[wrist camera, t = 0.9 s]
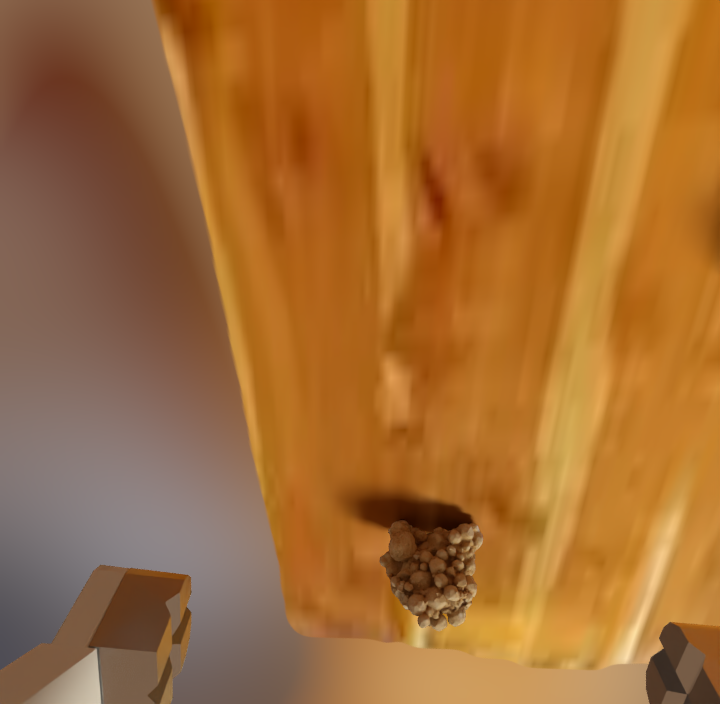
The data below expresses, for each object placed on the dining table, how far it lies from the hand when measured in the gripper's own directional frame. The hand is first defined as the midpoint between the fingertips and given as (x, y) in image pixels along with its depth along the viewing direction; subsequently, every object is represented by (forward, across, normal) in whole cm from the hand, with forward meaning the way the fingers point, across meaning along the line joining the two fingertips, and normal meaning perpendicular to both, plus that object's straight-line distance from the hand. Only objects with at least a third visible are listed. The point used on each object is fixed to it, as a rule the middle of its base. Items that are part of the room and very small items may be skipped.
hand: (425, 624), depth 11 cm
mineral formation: (+60, -12, +46) cm, 77 cm away
